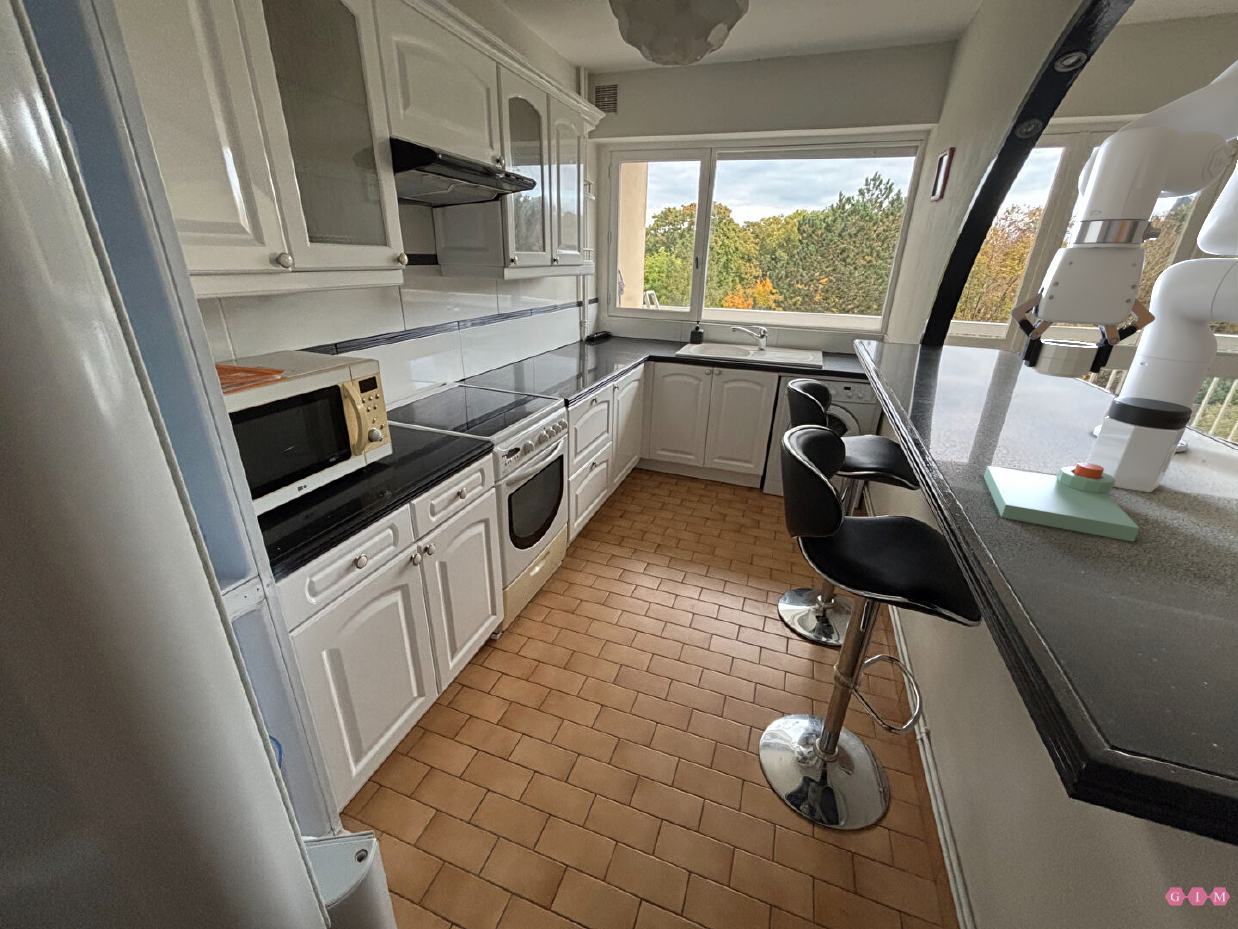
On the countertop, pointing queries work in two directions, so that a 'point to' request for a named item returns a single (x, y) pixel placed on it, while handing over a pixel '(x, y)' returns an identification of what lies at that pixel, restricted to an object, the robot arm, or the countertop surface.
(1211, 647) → the countertop surface
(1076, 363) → the bowl
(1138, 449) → the jar
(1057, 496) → the scale
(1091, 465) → the button
